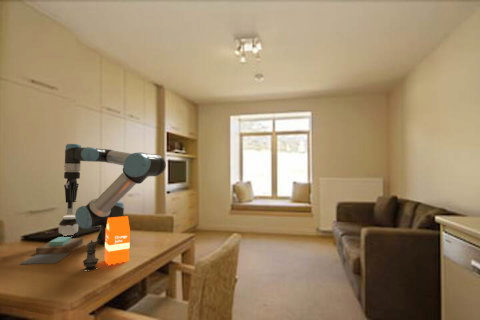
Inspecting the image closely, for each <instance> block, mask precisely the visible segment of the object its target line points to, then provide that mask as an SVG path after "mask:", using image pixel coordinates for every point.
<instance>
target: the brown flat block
mask: <svg viewBox="0 0 480 320" xmlns="http://www.w3.org/2000/svg"><path fill="white" fill-rule="evenodd" d="M83 240H84V239H83V238H82V237H79V238H78V237H77V238H72V237H71V241H70V242H68V243H66V244H65V245H63V246H49V242H50V241H48V242H46V243H44V244H42V245H40V246H38V247H37V248H36V249H35V255H37V254H45V253H70V254H71V252H73V251H74V250H76V249H77V248H78V247H80V246H82V244H83V242H84V241H83Z"/></svg>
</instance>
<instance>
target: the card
mask: <svg viewBox="0 0 480 320" xmlns="http://www.w3.org/2000/svg"><path fill="white" fill-rule="evenodd" d="M71 238H72V236H71V237H64V236H58V237H56V238H54V239H51V240H50V241H48V242H49V246H63V245H65V244H66V243H68V242H70V241H71Z"/></svg>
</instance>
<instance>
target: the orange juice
mask: <svg viewBox="0 0 480 320" xmlns="http://www.w3.org/2000/svg"><path fill="white" fill-rule="evenodd" d="M130 235H131V226H130V223H129V215H126V216H124V215H123V216H122V217H111V218H108V221H107V225H106V233H105V244H104V262H105V263H106V265H107V264H108V265H107V266H111V264H113V265H117V264H116V263H119V264H123V263H122V262H124V263H128V262H127V261H129V262H130V247H131V246H130V245H131V242H130V241H131V238H130Z"/></svg>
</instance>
